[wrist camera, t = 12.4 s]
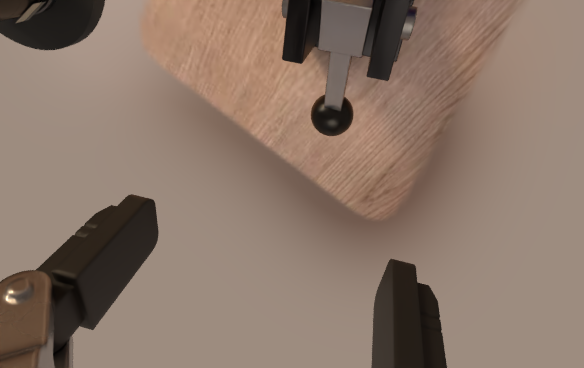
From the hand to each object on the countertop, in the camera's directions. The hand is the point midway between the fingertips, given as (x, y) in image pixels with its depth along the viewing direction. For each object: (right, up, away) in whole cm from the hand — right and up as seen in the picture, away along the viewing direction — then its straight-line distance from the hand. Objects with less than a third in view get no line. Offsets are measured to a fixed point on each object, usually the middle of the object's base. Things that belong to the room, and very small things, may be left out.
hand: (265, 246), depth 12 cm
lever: (+4, +10, +9) cm, 14 cm away
